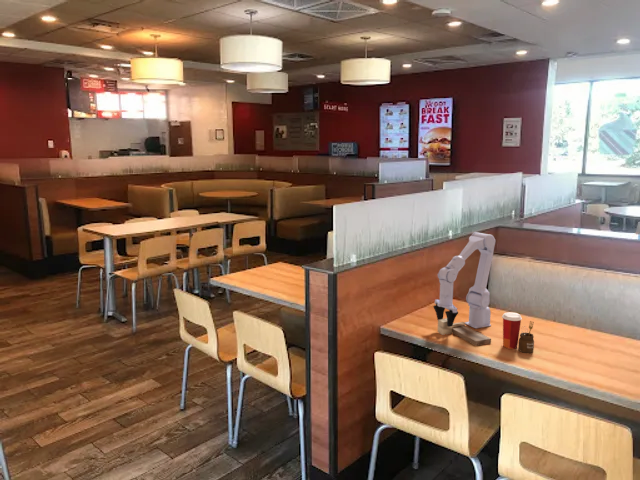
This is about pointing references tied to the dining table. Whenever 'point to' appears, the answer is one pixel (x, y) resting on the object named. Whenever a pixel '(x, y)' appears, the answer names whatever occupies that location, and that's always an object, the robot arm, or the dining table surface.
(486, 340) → the plank
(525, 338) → the utensil holder
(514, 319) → the paper cup
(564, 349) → the dining table surface
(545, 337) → the dining table surface
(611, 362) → the dining table surface
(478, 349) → the dining table surface
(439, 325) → the wooden mallet
